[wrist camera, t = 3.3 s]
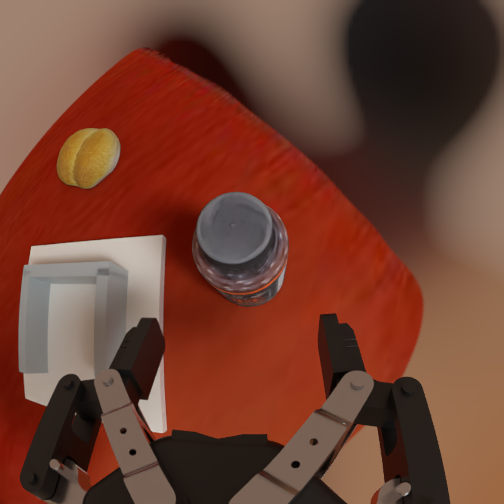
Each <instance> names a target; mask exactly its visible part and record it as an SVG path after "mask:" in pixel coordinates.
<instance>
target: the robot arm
mask: <svg viewBox="0 0 504 504" xmlns="http://www.w3.org/2000/svg"><path fill="white" fill-rule="evenodd" d="M318 350H319V356H320V362H321V368H322V374H323V381H324V387H325V394H326V402H325V403H324V404H323V406H322V407H321V408H320V409H319V410H318V409H317V410H315V411H314V412H313V413H312V414H311V416H310V417H309V418H308V419H307V421H306V422H305V423H304V424H303V426H302V427H301V428H300V429H299V430H298V432H297V433H296V434H295V435H294V436H293V438H292V439H291V440H290V441H289V442H288V444H287V445H286V446H284V445H281V444H279V443H277V442H273V441H269V440H268V439H267V434H242V435H237V436H232V437H226V438H220V439H217V438H213V437H209V436H206V435H203V434H200V433H197V432H190V431H181V430H173V431H172V435H171V436H167V437H163V438H160V439H156V438H155V436H154V435H153V433H152V431H151V429H150V427H149V425H148V423H147V421H146V419H145V417H144V415H143V413H142V411H141V409H140V407H139V405H138V403H139V400H140V399H141V400H148V398H149V395H150V392H151V389H152V386H153V383H154V380H155V377H156V374H157V371H158V368H159V365H160V362H161V360H162V357H163V354H164V351H165V340H164V337H163V334H162V331H161V328H160V325H159V322H158V320H157V318H146V317H142V318H141V319H140V321H139V323H138V325H137V327H132V328H131V329H130V330H129V331H128V332H127V333H126V335H125V337H124V339H123V342H122V343H121V345H120V348H119V349H118V351H117V353H116V355H115V357H114V359H113V361H112V363H111V365H110V367H109V369H106V370H103V371H101V372H100V373H99V374H98V375H97V376H96V377H95V379H90V380H83V381H81V380H80V378H79V377H78V376H77V375H75V374H67V375H65V376H63V377H62V378H61V379H60V380H59V382H58V384H57V386H56V388H55V390H54V392H53V394H52V396H51V398H50V401H49V403H48V405H47V407H46V410H45V412H44V414H43V416H42V419H41V421H40V423H39V426H38V428H37V431H36V433H35V436H34V438H33V441H32V443H31V446H30V448H29V451H28V454H27V457H26V459H25V462H24V465H23V468H22V471H21V474H20V482H21V484H22V486H23V488H24V489H25V490H27V491H28V492H30V493H32V494H33V495H35V496H36V497H38V498H39V499H41V500H42V501H44V502H46V503H48V504H347V503H346V502H345V501H344V500H342V499H341V498H340V497H339V496H338V495H337V494H336V493H335V492H334V491H333V490H331V489H330V488H329V487H328V486H327V485H326V484H325V483H324V482H323V481H322V480H321V478H322V477H323V476H324V474H325V473H326V472H327V470H328V469H329V468H330V466H331V464H332V463H333V462H334V460H335V459H336V457H337V455H338V454H339V452H340V451H341V449H342V448H343V446H344V445H345V443H346V442H347V440H348V439H349V437H350V436H351V434H352V432H353V431H354V429H355V428H356V426H357V425H358V424H361V425H368V426H376V427H377V428H378V435H379V441H380V448H381V456H382V462H383V472H384V480H385V484H384V485H383V486H382V487H381V488H379V489H378V490H377V491H376V492H375V493H374V495H373V496H372V499H371V504H450V499H449V493H448V487H447V481H446V476H445V471H444V467H443V462H442V458H441V453H440V449H439V445H438V441H437V437H436V433H435V429H434V425H433V422H432V418H431V415H430V411H429V408H428V404H427V401H426V398H425V394H424V391H423V388H422V386H421V384H420V383H419V381H417V380H416V379H414V378H411V377H401V378H399V379H397V380H396V381H395V382H394V384H393V383H384V382H379V381H376V380H374V379H372V377H371V376H370V375H369V374H367V373H366V370H365V367H364V364H363V360H362V357H361V354H360V350H359V347H358V344H357V340H356V337H355V334H354V331H353V329H352V328H351V327H350V326H349V325H348V324H347V323H343V324H339V323H338V319H337V315H336V314H335V313H334V314H321V315H320V320H319V332H318ZM75 414H76V416H75ZM74 416H75V418H74ZM73 419H74V421H73ZM72 422H73V424H72ZM101 422H103V424H104V427H105V430H106V433H107V436H108V438H109V441H110V444H111V446H112V449H113V451H114V454H115V456H116V459H117V461H118V464H119V466H120V467H119V468H117V469H116V470H115V471H113V472H112V473H110V474H109V475H108V476H106V477H105V478H103V479H102V480H101V481H99V482H98V483H96V484H95V485H93V486H91V484H90V477H89V475H88V473H87V469H88V466H89V462H90V458H91V455H92V451H93V448H94V445H95V441H96V438H97V435H98V432H99V428H100V425H101Z"/></svg>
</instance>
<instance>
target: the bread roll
mask: <svg viewBox="0 0 504 504" xmlns="http://www.w3.org/2000/svg"><path fill="white" fill-rule="evenodd" d="M119 156H120V142H119V140H118V138H117V136H116V135H115V134H114V133H113V132H112V131H111V130H109V129H106V128H103V129H93V128H87V129H83V130H79V131H78V132H76V133H75V134H73V135H71V136H70V137H69V138H68V139H67V141H66V142H65V143H64V145H63V146H62V148H61V151H60V153H59V157H58V161H57V173H58V176H59V178H60V179H61V180H62V181H63V182H64V183H65V184H67V185H72V186H79V187H80V188H84V189H90V188H92V187H94V186H96V185H97V184H98V183H99V182H101V181H102V180H103V179H104V178H105V177H106V176H107V175H109V174H110V173H111V172H112V171H113V170H114V168H115V166H116V165H117V163H118V160H119Z"/></svg>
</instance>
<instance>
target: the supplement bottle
mask: <svg viewBox="0 0 504 504" xmlns="http://www.w3.org/2000/svg"><path fill="white" fill-rule="evenodd" d="M288 250H289V242H288V236H287V231H286V228H285V226H284V224H283V222H282V220H281V218H280V217H279V216H278V215H277V214H276V213H275V212H274V211H273V210H272V209H271V208H270V207H268V206H266V205H265V204H263V203H262V202H261V201H260V200H259V199H257V198H256V197H254V196H252V195H250V194H247V193H241V192H231V193H225V194H222V195H220V196H218V197H216V198H214V199H213V200H211V201H210V202H209V203H208V204H207V205H206V206H205V207H204V208H203V210H202V211H201V213H200V215H199V217H198V221H197V225H196V229H195V232H194V235H193V241H192V253H193V258H194V261H195V264H196V267H197V269H198V271H199V272H200V274H201V275H202V276H203V277H204V278H205V279H206V280H207V281H208V283H209V284H210V285H212V286H213V287H214V288H215V289H216V290H218V291H219V292H220V293H221V294H222V295H223V296H224V297H225V298H226V299H227V300H229V301H231V302H233V303H235V304H238V305H241V306H246V307H252V306H258V305H261V304H264V303H266V302H268V301H269V300H271V299H272V298H273V297H274V296H275V295H276V294H277V292H278V291H279V289H280V288H281V285H282V283H283V280H284V276H285V269H286V263H287V258H288Z"/></svg>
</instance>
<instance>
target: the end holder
mask: <svg viewBox="0 0 504 504" xmlns="http://www.w3.org/2000/svg"><path fill="white" fill-rule="evenodd" d="M165 252H166V238H165V237H164V236H163V235H155V236H142V237H129V238H117V239H105V240H94V241H83V242H72V243H61V244H51V245H41V246H31V252H30V258H29V265H24V270H23V278H22V287H21V298H20V312H19V371H20V372H23V373H24V388H25V398H26V399H28V400H31V401H34V402H36V403H39V404H42V405H45V406H47V405H48V403H49V401H50V398H51V396H52V394H53V392H54V390H55V388H56V386H57V384H58V382H59V380H60V379H61V378H62V377H63V376H65V375H67V374H75V375H77V376H78V377H79V378H80V380H81V381H83V380H90V379H95V377H96V376H97V375H98V374H99V373H100V372H101V371H103V370H106V369H109V367H110V365H111V363H112V361H113V359H114V357H115V355H116V353H117V351H118V349H119V348H120V345H121V343H122V342H123V339H124V337H125V335H126V333H127V332H128V331H129V330H130V329H131V328H132V327H137V325H138V323H139V321H140V319H141V318H142V317H146V318H157V320H158V322H159V325H160V328H161V331H162V334H163V303H164V272H165ZM138 405H139V407H140V409H141V411H142V413H143V415H144V417H145V419H146V421H147V423H148V425H149V427H150V429H151V431H152V432H159V433H164V432H165V431H167V423H166V408H165V389H164V359H163V357H162V360H161V362H160V365H159V368H158V371H157V374H156V377H155V380H154V383H153V386H152V389H151V392H150V395H149V398H148V400H141V399H140V400H139V403H138ZM75 415H76V414H75Z"/></svg>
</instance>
